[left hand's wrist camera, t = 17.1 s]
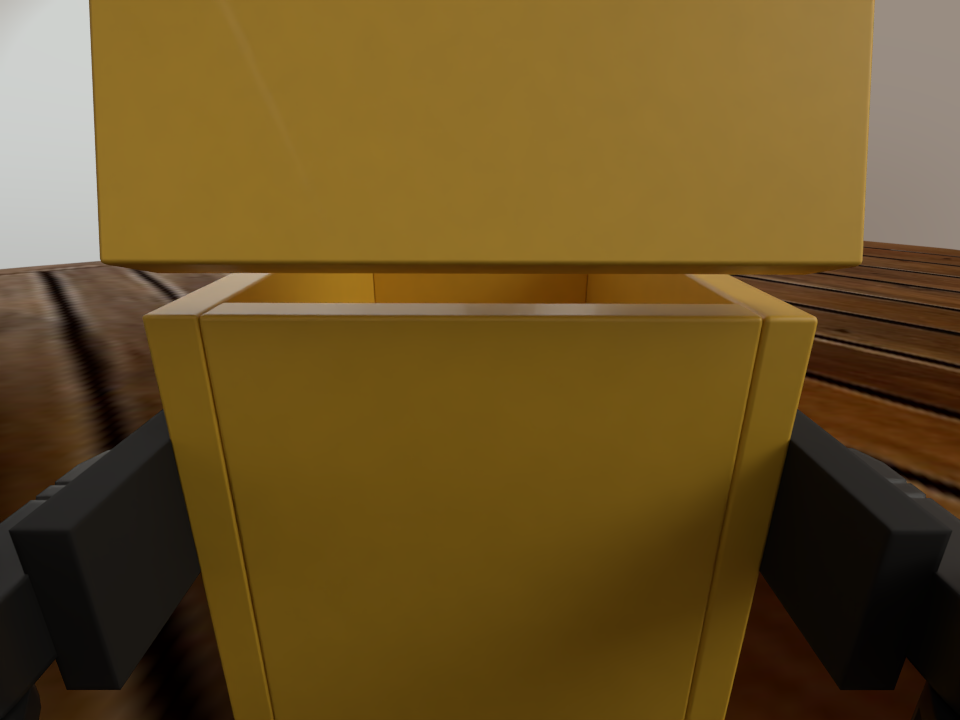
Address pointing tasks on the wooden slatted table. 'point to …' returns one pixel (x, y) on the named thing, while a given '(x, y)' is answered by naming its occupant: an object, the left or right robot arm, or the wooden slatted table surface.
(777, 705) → the wooden slatted table surface
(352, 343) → the chest
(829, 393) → the wooden slatted table surface
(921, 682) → the wooden slatted table surface
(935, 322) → the wooden slatted table surface
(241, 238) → the lid
